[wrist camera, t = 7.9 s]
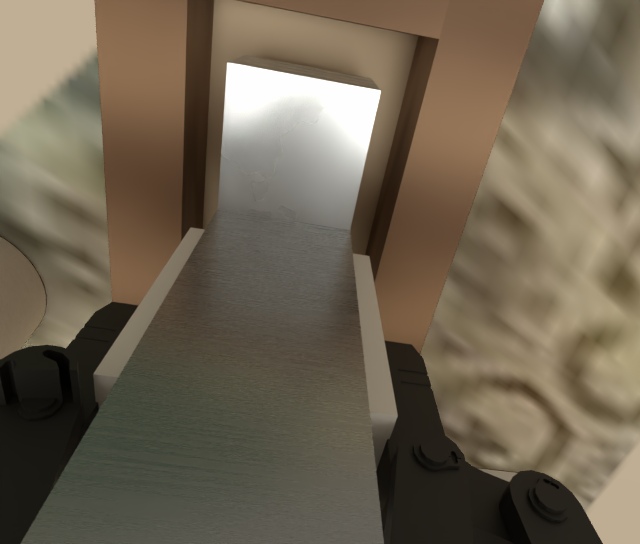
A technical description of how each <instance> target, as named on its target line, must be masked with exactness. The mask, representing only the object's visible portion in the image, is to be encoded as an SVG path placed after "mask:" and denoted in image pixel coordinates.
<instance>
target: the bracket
mask: <svg viewBox="0 0 640 544" xmlns="http://www.w3.org/2000/svg"><path fill="white" fill-rule="evenodd" d="M380 92H381V90H380V89H379V88H378V86H377V85H376V84H375V83H374V81H373V80H372V79H371V78H367V77H362V76H356V75H351V74H346V73H341V72H335V71H330V70H325V69H319V68H314V67H309V66H303V65H298V64H293V63H287V62H282V61H277V60H271V59H266V58H261V57H255V56H250V55H244V56H241V57H239V58H236V59H234V60H232V61H229V62H227V74H226V89H225V104H224V120H223V135H222V150H221V165H220V181H219V196H218V209H217V210H216V212H215V214H214V215H213V217H212V219H211V221H210V222H209V224H208V226H207V227H206V229H205V231H204V232H203V234H202V236H201V238H200V239H199V241H198V243H197V244H196V246H195V248H194V249H193V251H192V253H191V255H190V256H189V258H188V260H187V261H186V263H185V265H184V266H183V268H182V270H181V272H180V273H179V275H178V277H177V278H176V280H175V282H174V283H173V285H172V287H171V289H170V290H169V292H168V294H167V295H166V297H165V299H164V300H163V302H162V304H161V306H160V307H159V309H158V311H157V312H156V314H155V316H154V317H153V319H152V321H151V323H150V324H149V326H148V328H147V329H146V331H145V333H144V334H143V336H142V338H141V340H140V341H139V343H138V345H137V346H136V348H135V350H134V351H133V353H132V355H131V357H130V358H129V360H128V362H127V363H126V365H125V367H124V368H123V370H122V372H121V374H120V375H119V377H118V379H117V380H116V382H115V384H114V385H113V387H112V389H111V391H110V392H109V394H108V396H107V397H106V399H105V401H104V402H103V404H102V406H101V408H100V409H99V411H98V413H97V414H96V416H95V418H94V419H93V421H92V423H91V425H90V426H89V428H88V430H87V431H86V433H85V435H84V436H83V438H82V440H81V442H80V443H79V445H78V447H77V448H76V450H75V452H74V453H73V455H72V457H71V459H70V460H69V462H68V464H67V465H66V467H65V469H64V470H63V472H62V474H61V476H60V477H59V479H58V481H57V482H56V484H55V486H54V487H53V489H52V491H51V493H50V494H49V496H48V498H47V499H46V501H45V503H44V504H43V506H42V508H41V510H40V511H39V513H38V515H37V516H36V518H35V520H34V521H33V523H32V525H31V527H30V528H29V530H28V532H27V533H26V535H25V537H24V538H23V540H22V542H21V544H384V539H383V529H382V520H381V511H380V502H379V492H378V483H377V474H376V465H375V455H374V446H373V437H372V428H371V418H370V409H369V400H368V391H367V382H366V372H365V363H364V354H363V345H362V335H361V326H360V317H359V308H358V298H357V289H356V280H355V271H354V261H353V252H352V243H351V234H350V228H351V224H352V219H353V215H354V210H355V206H356V201H357V197H358V192H359V188H360V183H361V178H362V174H363V169H364V165H365V160H366V156H367V151H368V147H369V142H370V138H371V133H372V129H373V124H374V120H375V115H376V111H377V106H378V101H379V97H380Z"/></svg>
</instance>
